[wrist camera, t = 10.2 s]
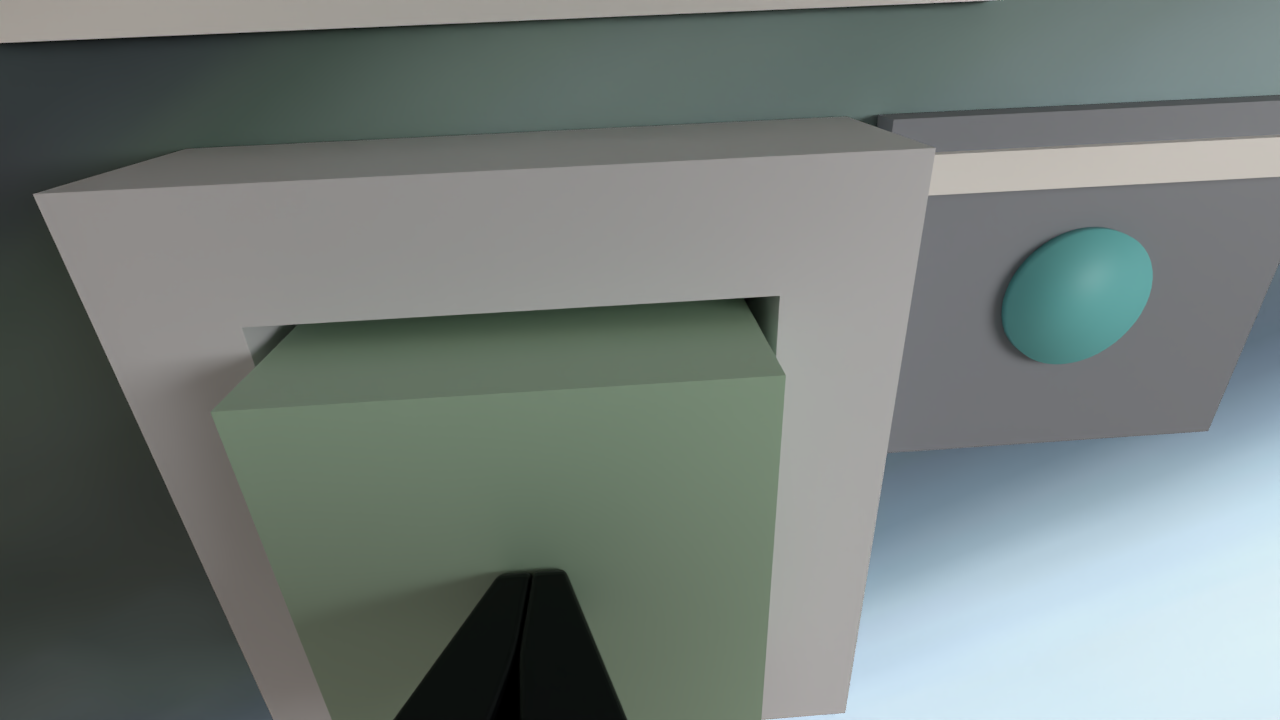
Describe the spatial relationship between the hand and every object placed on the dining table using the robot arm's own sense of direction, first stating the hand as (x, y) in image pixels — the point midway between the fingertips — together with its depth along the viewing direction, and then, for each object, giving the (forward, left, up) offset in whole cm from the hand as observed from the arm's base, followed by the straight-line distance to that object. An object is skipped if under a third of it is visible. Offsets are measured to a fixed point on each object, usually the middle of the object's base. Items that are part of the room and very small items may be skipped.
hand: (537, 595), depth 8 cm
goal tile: (-9, -2, -4) cm, 10 cm away
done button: (0, 0, -4) cm, 4 cm away
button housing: (0, 0, -4) cm, 4 cm away
